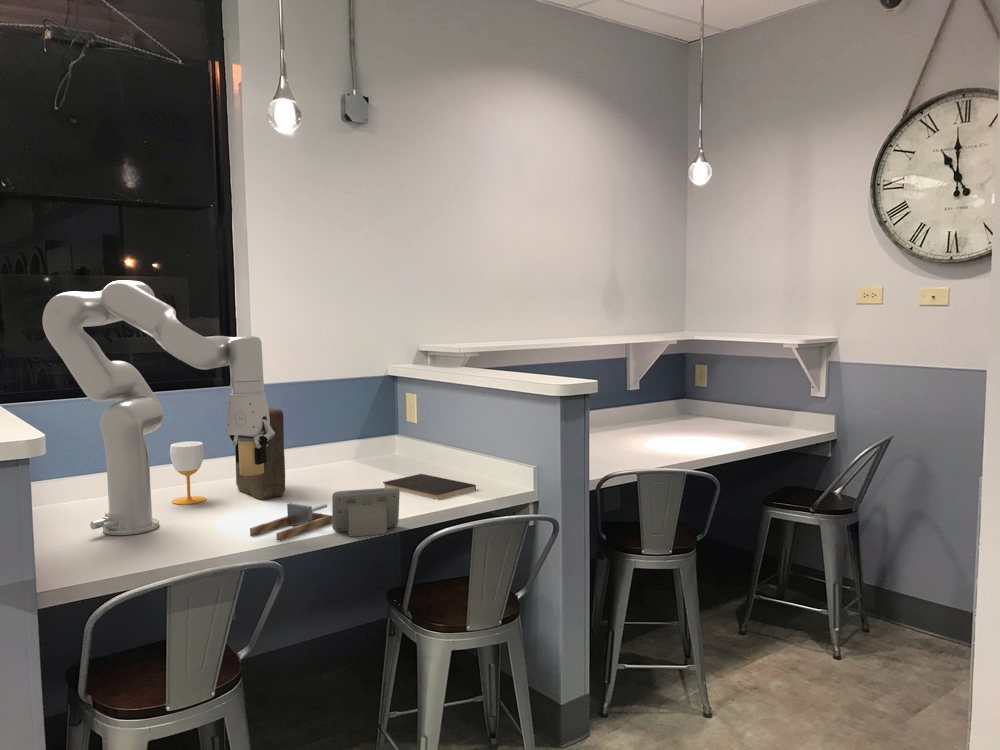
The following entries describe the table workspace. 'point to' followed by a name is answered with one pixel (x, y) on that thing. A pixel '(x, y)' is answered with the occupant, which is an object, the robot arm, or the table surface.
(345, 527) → the digital clock
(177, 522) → the table surface
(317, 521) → the lane
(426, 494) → the hardcover book
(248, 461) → the jar
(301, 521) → the pusher
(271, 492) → the canister
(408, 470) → the table surface
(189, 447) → the cup
